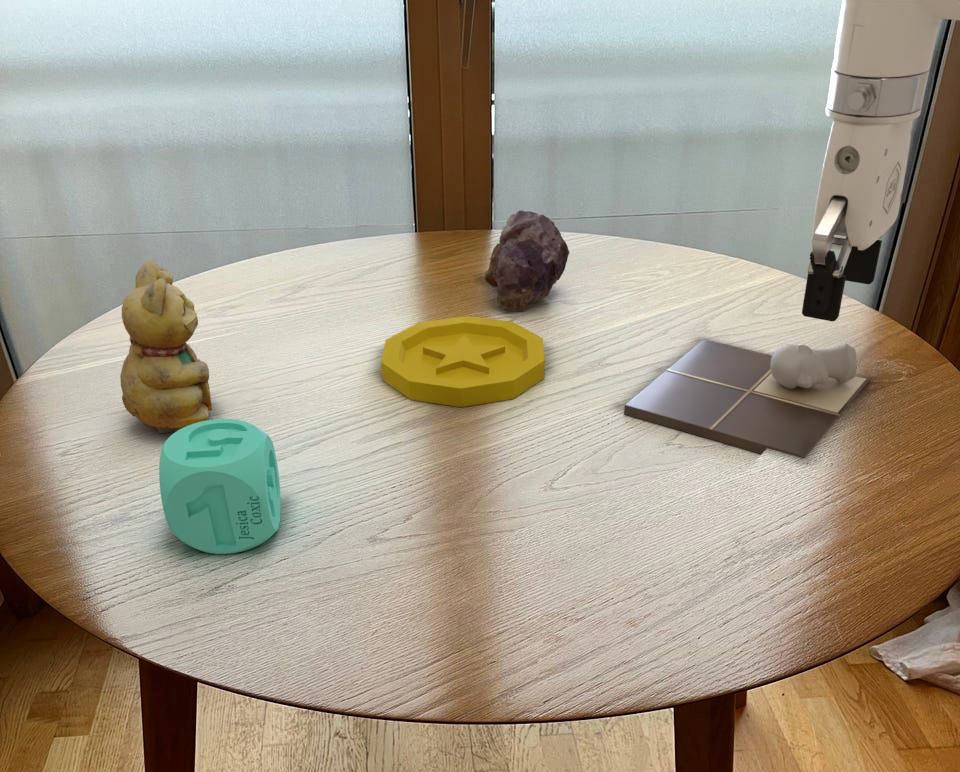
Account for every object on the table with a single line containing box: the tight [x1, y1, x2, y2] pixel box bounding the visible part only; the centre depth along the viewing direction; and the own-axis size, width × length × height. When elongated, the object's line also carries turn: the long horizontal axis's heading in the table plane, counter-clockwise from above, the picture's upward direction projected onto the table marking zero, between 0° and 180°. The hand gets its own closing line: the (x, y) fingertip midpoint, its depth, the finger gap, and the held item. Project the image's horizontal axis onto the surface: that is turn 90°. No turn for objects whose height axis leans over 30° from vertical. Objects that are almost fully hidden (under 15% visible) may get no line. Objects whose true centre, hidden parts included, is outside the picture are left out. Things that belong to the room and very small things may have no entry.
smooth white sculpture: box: [770, 342, 858, 389], centre depth 97 cm, size 4×8×5 cm
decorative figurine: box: [119, 259, 213, 434], centre depth 92 cm, size 10×8×15 cm
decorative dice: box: [158, 418, 282, 555], centre depth 80 cm, size 8×8×8 cm
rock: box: [483, 209, 570, 312], centre depth 117 cm, size 12×9×10 cm
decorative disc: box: [380, 315, 545, 408], centre depth 104 cm, size 17×18×2 cm
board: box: [623, 338, 871, 459], centre depth 98 cm, size 18×18×1 cm
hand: (838, 298), depth 92 cm, fingers open, 9 cm apart
